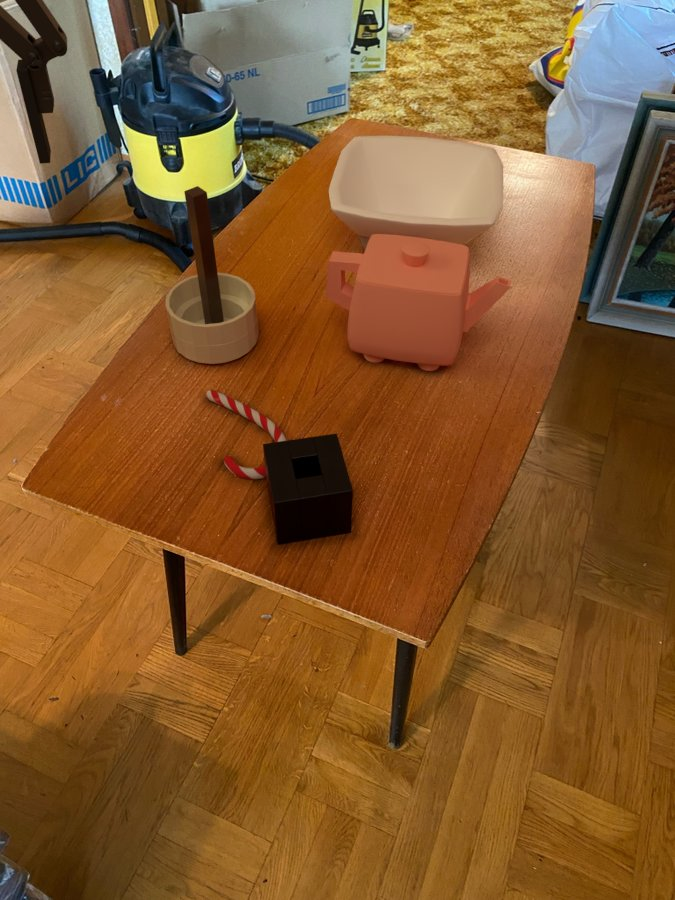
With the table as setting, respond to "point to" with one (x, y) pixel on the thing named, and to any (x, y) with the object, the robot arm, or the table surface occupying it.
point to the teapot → (409, 298)
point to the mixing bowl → (215, 338)
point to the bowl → (417, 188)
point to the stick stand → (308, 488)
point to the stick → (204, 254)
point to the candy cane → (254, 417)
